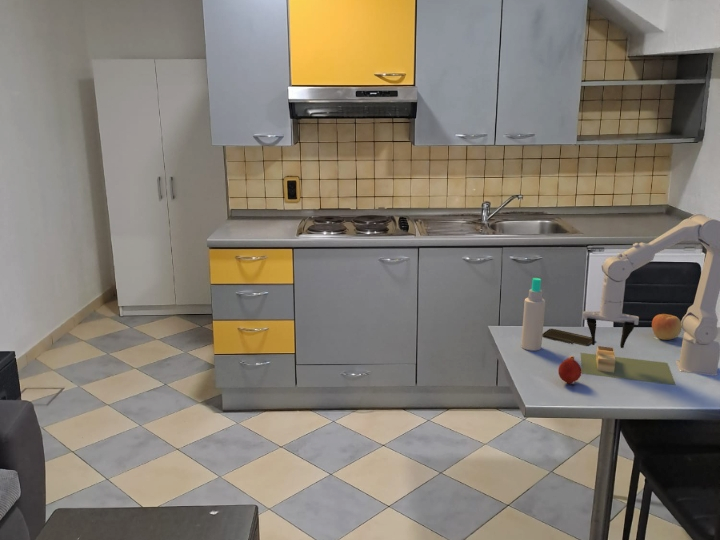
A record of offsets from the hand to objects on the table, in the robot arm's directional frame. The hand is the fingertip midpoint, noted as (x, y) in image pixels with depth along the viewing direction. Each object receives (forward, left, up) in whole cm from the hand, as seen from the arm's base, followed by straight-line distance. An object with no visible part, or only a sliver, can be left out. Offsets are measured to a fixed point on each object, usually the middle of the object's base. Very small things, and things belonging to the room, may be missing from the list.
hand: (607, 345), depth 184 cm
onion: (+10, +16, -7) cm, 20 cm away
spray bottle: (+21, -8, -7) cm, 23 cm away
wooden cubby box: (0, 0, -6) cm, 6 cm away
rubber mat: (-5, +1, -6) cm, 8 cm away
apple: (-20, -31, -7) cm, 37 cm away
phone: (+10, -20, -7) cm, 23 cm away
